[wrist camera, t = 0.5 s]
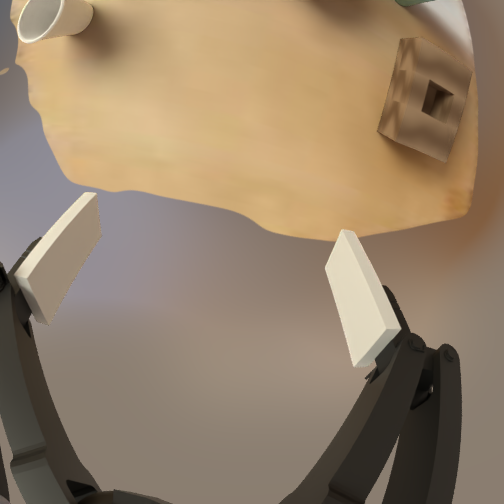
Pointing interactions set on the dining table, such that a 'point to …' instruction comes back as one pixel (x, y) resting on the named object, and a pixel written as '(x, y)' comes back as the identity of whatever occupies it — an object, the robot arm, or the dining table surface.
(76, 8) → the dixie cup
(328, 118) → the dining table surface
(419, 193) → the dining table surface
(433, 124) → the block
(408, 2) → the pin
